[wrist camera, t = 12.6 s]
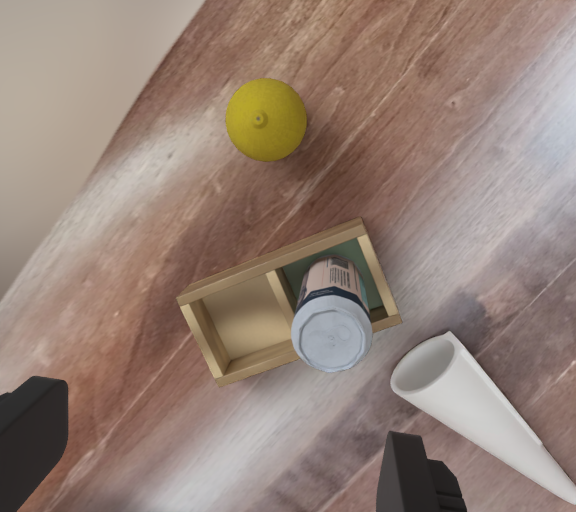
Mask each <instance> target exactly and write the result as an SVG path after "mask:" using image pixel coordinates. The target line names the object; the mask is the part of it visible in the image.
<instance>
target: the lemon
mask: <svg viewBox="0 0 576 512" xmlns="http://www.w3.org/2000/svg"><path fill="white" fill-rule="evenodd" d="M225 122H226V127H227V132H228V134H229V137H230V139H231V141H232V142H233V144H234V145H235V146H236V148H237V149H238V150H239V151H240V152H242V153H243V154H244V155H246V156H248V157H250V158H252V159H254V160H259V161H264V162H267V161H276V160H279V159H282V158H284V157H286V156H287V155H289V154H290V153H292V152H293V151H294V150H295V149H296V148H297V147H298V146H299V144H300V143H301V141H302V139H303V137H304V135H305V130H306V126H307V114H306V110H305V107H304V104H303V102H302V100H301V98H300V97H299V95H298V94H297V93H296V92H295V91H294V90H293V88H292V87H290V86H289V85H287V84H285V83H284V82H282V81H278V80H275V79H271V78H260V79H256V80H252V81H250V82H248V83H246V84H244V85H243V86H241V87H240V88H239V89H238V90H237V91H236V92H235V93H234V95H233V96H232V98H231V100H230V101H229V104H228V107H227V110H226V121H225Z"/></svg>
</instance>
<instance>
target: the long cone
mask: <svg viewBox="0 0 576 512" xmlns="http://www.w3.org/2000/svg"><path fill="white" fill-rule="evenodd" d="M391 388H392V390H393V391H394V392H395V393H396V394H398V395H399V396H401V397H402V398H404V399H405V400H407V401H409V402H410V403H412V404H413V405H415V406H416V407H418V408H419V409H421V410H423V411H424V412H426V413H428V414H429V415H431V416H433V417H434V418H436V419H437V420H439V421H440V422H442V423H443V424H445V425H447V426H448V427H450V428H451V429H453V430H454V431H456V432H457V433H459V434H461V435H462V436H464V437H465V438H467V439H469V440H470V441H472V442H473V443H475V444H476V445H478V446H480V447H481V448H483V449H484V450H486V451H487V452H489V453H490V454H492V455H494V456H495V457H497V458H498V459H500V460H501V461H503V462H505V463H506V464H508V465H509V466H511V467H512V468H514V469H515V470H517V471H519V472H520V473H522V474H523V475H525V476H526V477H528V478H529V479H531V480H533V481H534V482H536V483H537V484H539V485H540V486H542V487H544V488H545V489H547V490H548V491H550V492H552V493H553V494H555V495H557V496H558V497H560V498H562V499H563V500H565V501H567V502H569V503H571V504H574V505H576V486H575V484H574V483H573V482H572V481H571V479H570V478H569V477H568V476H567V475H566V473H565V472H564V471H563V470H562V468H561V467H560V466H559V464H558V463H557V462H556V461H555V460H554V458H553V457H552V456H551V455H550V454H549V452H548V451H547V450H546V449H545V447H544V446H543V445H542V444H543V443H542V442H541V440H540V439H539V438H538V436H537V435H536V434H535V433H534V432H533V430H532V429H531V428H530V427H529V426H528V424H527V423H526V422H525V421H524V419H523V418H522V417H521V416H520V415H519V413H518V412H517V411H516V410H515V408H514V407H513V406H512V405H511V403H510V402H509V401H508V400H507V398H506V397H505V396H504V395H503V394H502V392H501V391H500V390H499V389H498V387H497V386H496V385H495V384H494V382H493V381H492V380H491V379H490V377H489V376H488V375H487V374H486V373H485V371H484V370H483V369H482V368H481V366H480V365H479V364H478V363H477V361H476V360H475V359H474V358H473V356H472V355H471V354H470V353H469V352H468V350H467V349H466V348H465V347H464V345H463V344H462V343H461V342H460V341H459V340H458V339H457V338H456V337H455V336H454V335H453V333H452V332H450V331H448V332H447V333H446V334H444V335H441V336H437V337H433V338H431V339H428V340H426V341H424V342H422V343H420V344H419V345H417V346H416V347H415V348H413V349H412V350H411V351H409V352H408V353H407V354H406V355H405V356H404V357H403V358H402V359H401V361H400V362H399V363H398V365H397V366H396V368H395V370H394V371H393V374H392V377H391Z"/></svg>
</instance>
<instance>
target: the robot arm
mask: <svg viewBox="0 0 576 512" xmlns="http://www.w3.org/2000/svg"><path fill="white" fill-rule="evenodd" d="M67 440H68V385H67V383H66V381H64V380H60V379H53V378H47V377H40V376H33V377H31V378H29V379H28V380H27V381H26V382H24V383H23V384H22V385H21V386H19V387H18V388H17V389H16V390H14V391H13V392H12V393H8V392H7V393H5V394H3V395H0V512H17V510H18V509H19V508H20V507H21V506H22V504H23V503H24V502H25V501H26V500H27V499H28V497H29V496H30V495H31V494H32V493H33V491H34V490H35V489H36V488H37V487H38V485H39V484H40V483H41V482H42V481H43V480H44V478H45V477H46V476H47V475H48V474H49V472H50V471H51V470H52V469H53V468H54V466H55V465H56V464H57V463H58V462H59V460H60V459H61V457H62V455H63V453H64V451H65V448H66V445H67ZM376 512H467V508H466V505H465V502H464V499H462V493H461V490H460V487H459V484H458V481H457V478H456V477H455V476H454V474H453V473H452V472H451V471H450V470H449V469H448V467H447V466H446V465H445V464H444V463H443V462H442V461H437V460H431V459H427V456H426V452H425V449H424V445H423V441H422V438H421V436H419V435H412V434H406V433H399V432H393V431H389V432H388V435H387V439H386V444H385V450H384V455H383V460H382V466H381V471H380V477H379V482H378V489H377V499H376Z"/></svg>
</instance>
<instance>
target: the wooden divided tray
mask: <svg viewBox="0 0 576 512" xmlns="http://www.w3.org/2000/svg"><path fill="white" fill-rule="evenodd" d="M331 254H336V255H341V256H344V257H347V258H349V259H350V260H352V261H353V262H354V263H355V264H356V265H357V266H358V268H359V269H360V271H361V273H362V275H363V280H364V285H365V291H366V297H367V302H368V308H369V314H370V319H371V325H372V333H375V332H377V331H380V330H383V329H386V328H389V327H392V326H394V325H397V324H400V323H402V319H401V316H400V314H399V311H398V308H397V305H396V303H395V300H394V298H393V295H392V292H391V290H390V287H389V285H388V282H387V280H386V277H385V275H384V272H383V270H382V267H381V265H380V262H379V260H378V257H377V255H376V252H375V250H374V247H373V245H372V242H371V240H370V237H369V235H368V232H367V230H366V227H365V225H364V222H363V220H362V217H361V216H360V217H357V218H355V219H352V220H350V221H347V222H345V223H342V224H340V225H337V226H335V227H332V228H330V229H327V230H325V231H322V232H320V233H317V234H315V235H312V236H310V237H307V238H305V239H302V240H300V241H297V242H295V243H292V244H290V245H287V246H285V247H282V248H280V249H277V250H275V251H272V252H270V253H267V254H265V255H262V256H260V257H257V258H255V259H252V260H250V261H247V262H245V263H242V264H240V265H237V266H235V267H232V268H230V269H227V270H225V271H222V272H220V273H217V274H215V275H212V276H210V277H207V278H205V279H202V280H200V281H197V282H195V283H192V284H190V285H188V286H187V287H186V288H185V289H184V290H183V291H182V292H181V293H180V294H179V295H178V296H177V297H176V300H177V302H178V304H179V306H180V308H181V310H182V312H183V315H184V317H185V319H186V321H187V323H188V325H189V327H190V329H191V331H192V333H193V335H194V337H195V339H196V341H197V343H198V345H199V348H200V350H201V352H202V354H203V356H204V358H205V360H206V362H207V364H208V366H209V368H210V370H211V372H212V374H213V376H214V378H215V381H216V383H217V385H218V387H222V386H225V385H228V384H231V383H234V382H236V381H239V380H242V379H245V378H248V377H251V376H253V375H256V374H259V373H262V372H265V371H267V370H270V369H273V368H276V367H279V366H282V365H284V364H287V363H290V362H293V361H296V360H298V359H301V358H300V356H299V355H298V354H297V352H296V351H295V349H294V347H293V343H292V339H291V328H292V323H293V319H294V315H295V311H296V307H297V303H298V298H299V294H300V290H301V286H302V282H303V278H304V274H305V271H306V270H307V268H308V266H309V265H310V264H311V263H312V262H313V261H315V260H316V259H318V258H319V257H322V256H325V255H331Z"/></svg>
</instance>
